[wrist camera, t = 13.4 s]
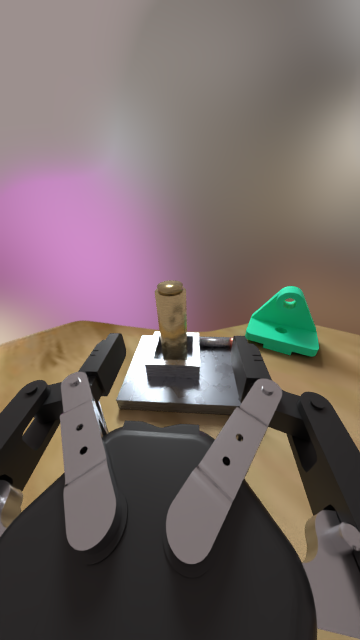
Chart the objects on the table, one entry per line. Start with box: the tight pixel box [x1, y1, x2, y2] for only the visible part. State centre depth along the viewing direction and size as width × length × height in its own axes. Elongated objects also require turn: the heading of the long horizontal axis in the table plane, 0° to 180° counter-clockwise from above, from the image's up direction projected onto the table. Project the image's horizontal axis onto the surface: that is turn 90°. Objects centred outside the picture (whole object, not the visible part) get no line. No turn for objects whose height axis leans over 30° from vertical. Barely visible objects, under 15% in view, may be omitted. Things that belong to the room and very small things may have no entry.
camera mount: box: [245, 286, 319, 357], centre depth 34 cm, size 12×8×10 cm, turn 62°
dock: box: [116, 332, 242, 415], centre depth 29 cm, size 18×14×4 cm
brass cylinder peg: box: [155, 281, 188, 360], centre depth 26 cm, size 4×4×13 cm
